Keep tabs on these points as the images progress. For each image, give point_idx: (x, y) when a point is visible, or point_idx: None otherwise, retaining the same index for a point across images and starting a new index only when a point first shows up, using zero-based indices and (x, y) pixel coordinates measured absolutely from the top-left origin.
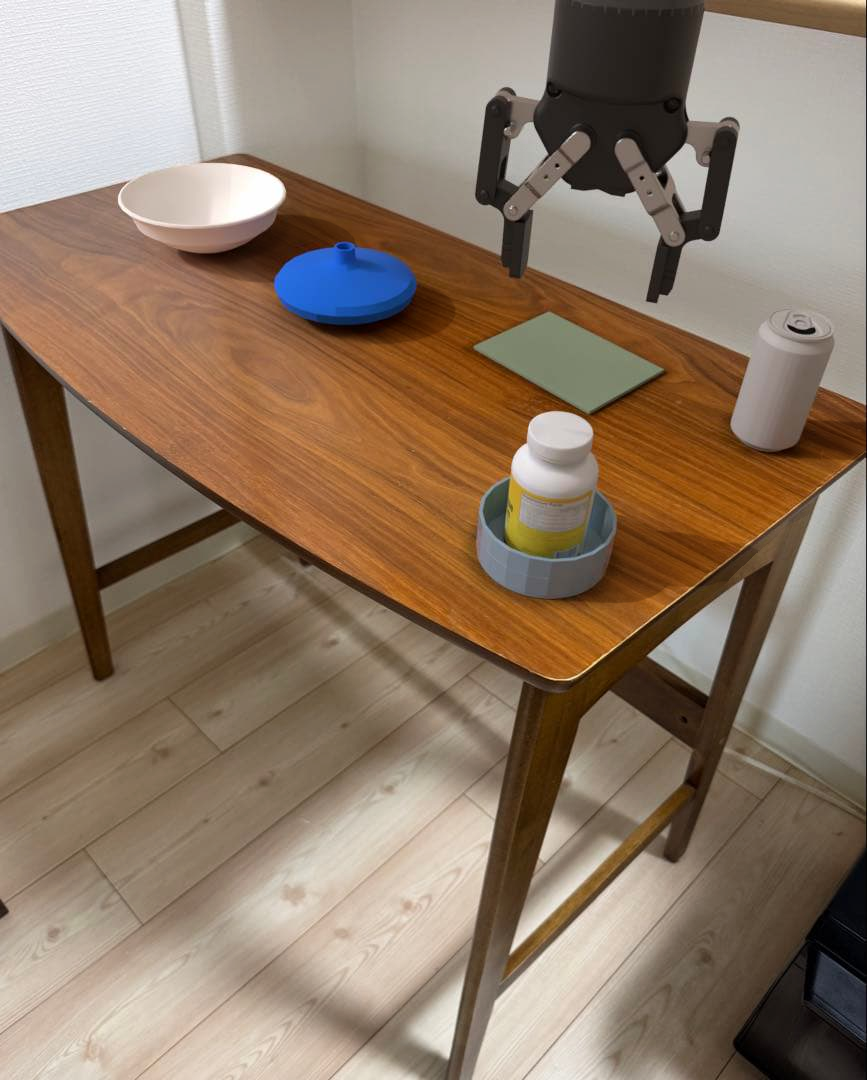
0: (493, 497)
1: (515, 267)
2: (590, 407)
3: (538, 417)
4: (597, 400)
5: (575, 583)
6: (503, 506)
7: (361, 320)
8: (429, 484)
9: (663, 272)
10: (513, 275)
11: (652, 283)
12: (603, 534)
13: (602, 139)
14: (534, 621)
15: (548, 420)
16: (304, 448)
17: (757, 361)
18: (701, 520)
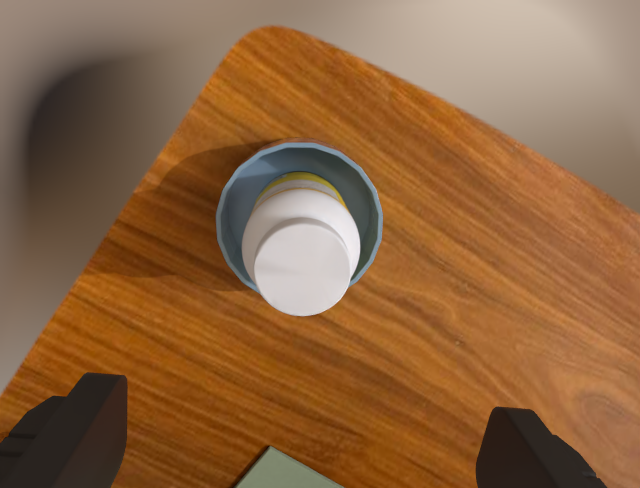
0: (366, 255)
1: (528, 426)
2: (269, 455)
3: (339, 293)
4: (262, 468)
5: (256, 151)
6: None
7: None
8: (433, 292)
9: (34, 439)
10: (519, 410)
11: (88, 408)
12: (233, 242)
13: None
14: (296, 100)
15: (323, 288)
16: (576, 319)
17: None
18: (129, 302)
